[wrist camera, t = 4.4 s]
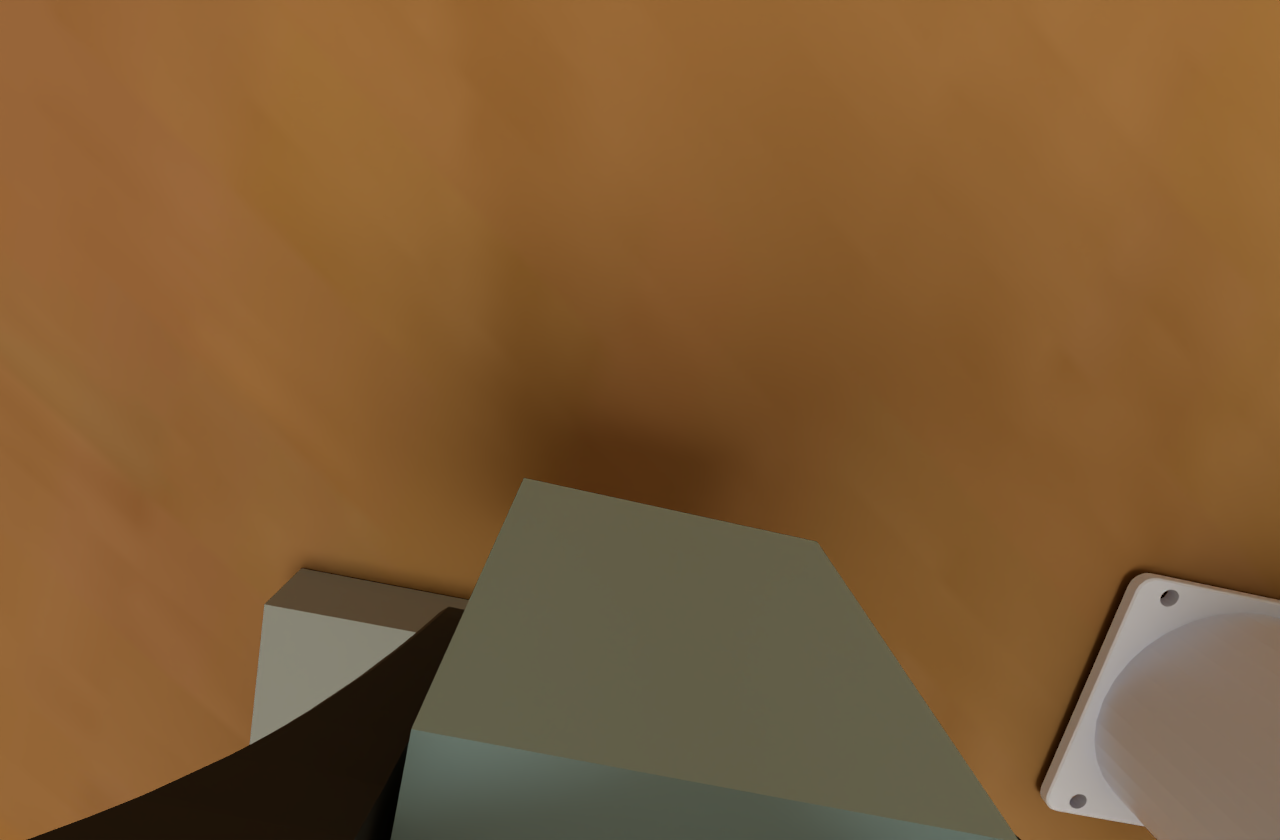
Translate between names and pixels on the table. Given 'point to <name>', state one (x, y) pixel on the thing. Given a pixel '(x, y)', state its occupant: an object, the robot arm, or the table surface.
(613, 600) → the block
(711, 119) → the table surface
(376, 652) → the base board
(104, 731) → the table surface
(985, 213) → the table surface
